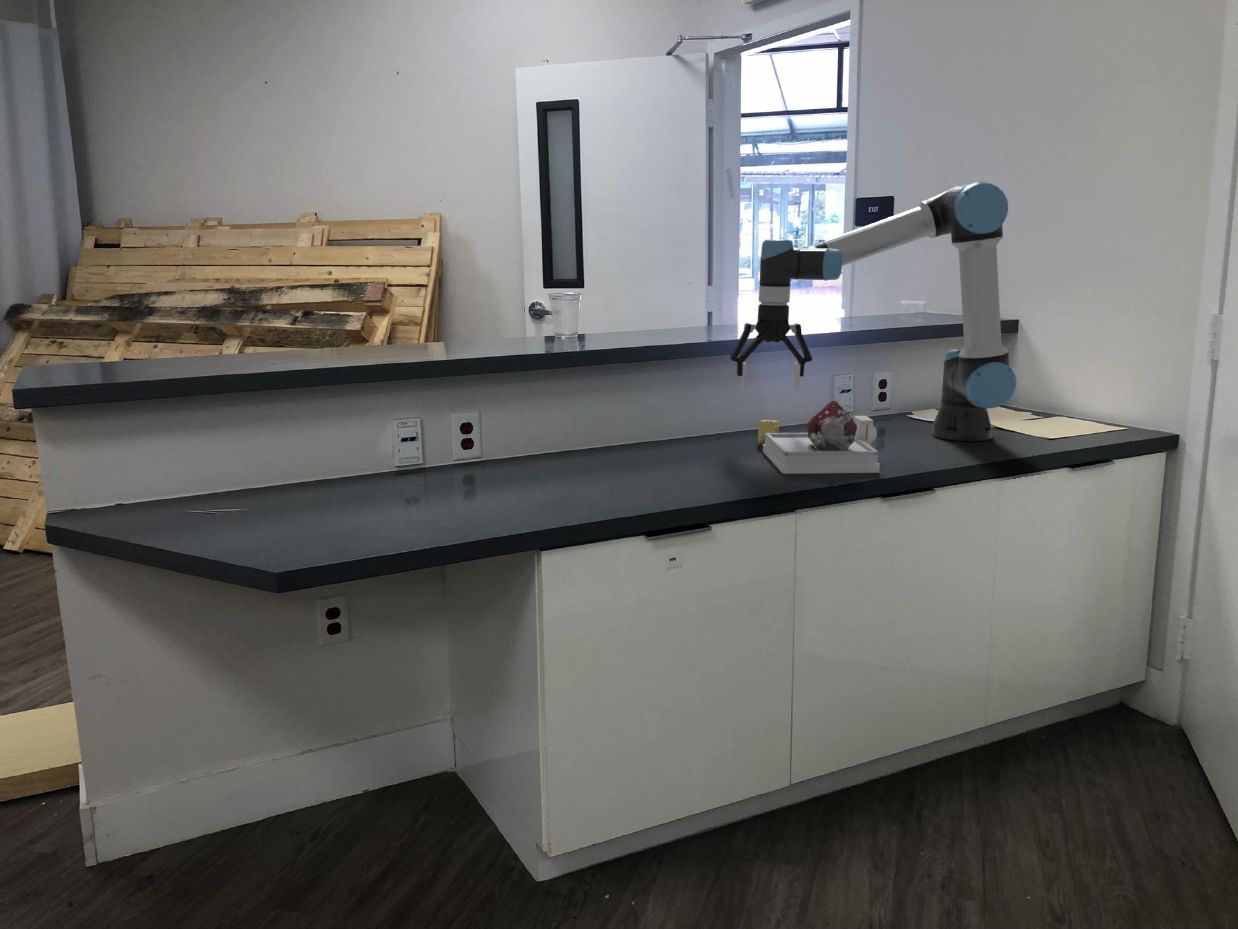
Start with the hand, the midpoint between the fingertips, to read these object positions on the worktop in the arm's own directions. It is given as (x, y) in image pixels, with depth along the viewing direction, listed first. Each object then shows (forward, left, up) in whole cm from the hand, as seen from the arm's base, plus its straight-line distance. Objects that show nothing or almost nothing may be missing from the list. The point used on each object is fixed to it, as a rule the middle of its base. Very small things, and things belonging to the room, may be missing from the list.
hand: (769, 389), depth 242 cm
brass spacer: (0, 0, -14) cm, 14 cm away
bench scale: (-10, +19, -14) cm, 26 cm away
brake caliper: (-10, +22, -10) cm, 27 cm away
